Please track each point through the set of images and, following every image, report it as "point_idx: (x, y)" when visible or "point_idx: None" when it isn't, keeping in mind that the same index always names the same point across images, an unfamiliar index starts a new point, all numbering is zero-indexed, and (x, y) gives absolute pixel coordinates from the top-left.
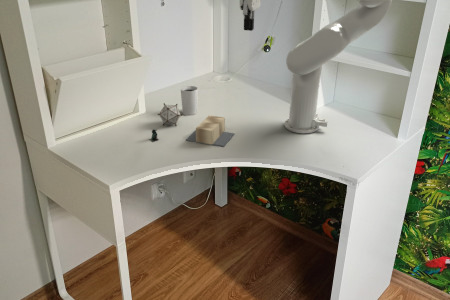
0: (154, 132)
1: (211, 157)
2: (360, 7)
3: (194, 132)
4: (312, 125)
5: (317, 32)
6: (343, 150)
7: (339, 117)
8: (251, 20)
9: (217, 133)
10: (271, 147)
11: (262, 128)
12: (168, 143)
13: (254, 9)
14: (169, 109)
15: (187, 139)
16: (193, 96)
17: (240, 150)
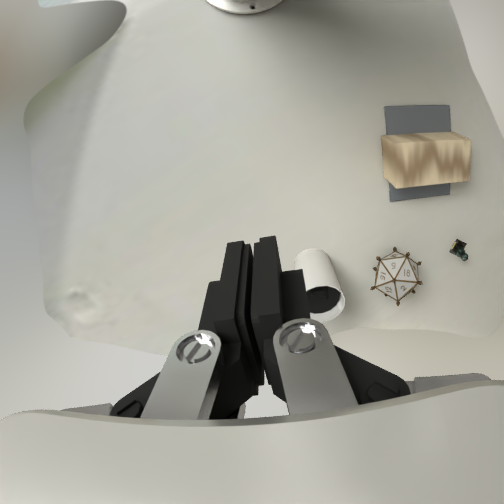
0: (465, 253)
1: (488, 114)
2: None
3: (416, 194)
4: None
5: None
6: None
7: None
8: (282, 311)
9: (432, 135)
10: (402, 5)
11: (314, 54)
12: (465, 216)
13: (452, 398)
14: (416, 279)
15: (448, 191)
16: (331, 277)
17: (446, 66)
